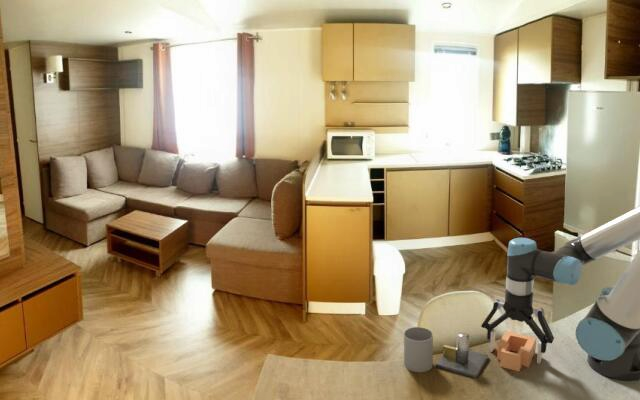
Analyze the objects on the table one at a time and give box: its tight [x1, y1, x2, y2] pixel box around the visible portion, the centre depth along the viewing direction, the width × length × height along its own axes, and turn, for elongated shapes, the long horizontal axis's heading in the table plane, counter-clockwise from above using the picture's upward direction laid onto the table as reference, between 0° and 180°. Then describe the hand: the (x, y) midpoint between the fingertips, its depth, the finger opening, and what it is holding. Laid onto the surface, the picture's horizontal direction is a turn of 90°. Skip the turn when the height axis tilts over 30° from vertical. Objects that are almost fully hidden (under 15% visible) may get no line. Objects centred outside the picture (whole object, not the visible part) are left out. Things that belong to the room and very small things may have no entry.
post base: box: [435, 331, 489, 379], centre depth 158 cm, size 12×12×9 cm
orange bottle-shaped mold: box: [496, 330, 537, 372], centre depth 160 cm, size 12×9×5 cm
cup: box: [403, 326, 434, 373], centre depth 158 cm, size 8×8×10 cm
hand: (515, 355), depth 162 cm, fingers open, 13 cm apart
